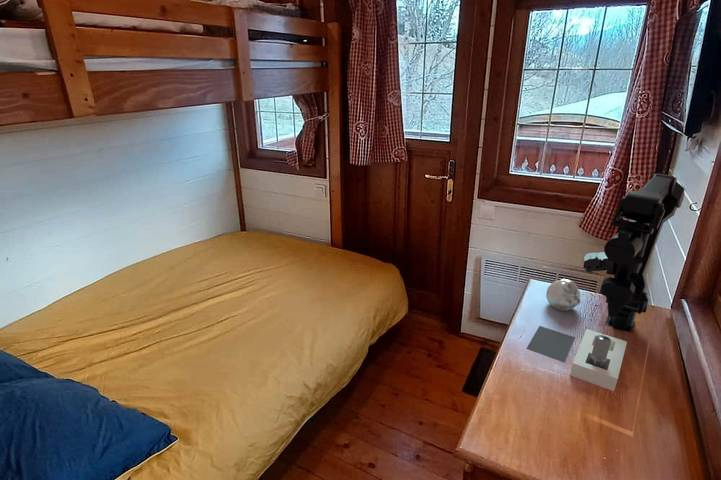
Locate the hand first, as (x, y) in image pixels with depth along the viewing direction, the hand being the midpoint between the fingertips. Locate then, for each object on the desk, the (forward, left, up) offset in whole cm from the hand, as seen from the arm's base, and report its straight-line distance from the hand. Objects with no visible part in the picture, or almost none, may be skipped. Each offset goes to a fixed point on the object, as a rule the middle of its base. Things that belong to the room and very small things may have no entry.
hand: (613, 307), depth 105 cm
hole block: (+8, 0, -12) cm, 14 cm away
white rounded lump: (-13, -13, -12) cm, 22 cm away
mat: (+6, -11, -12) cm, 17 cm away
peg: (+12, 0, -12) cm, 17 cm away
